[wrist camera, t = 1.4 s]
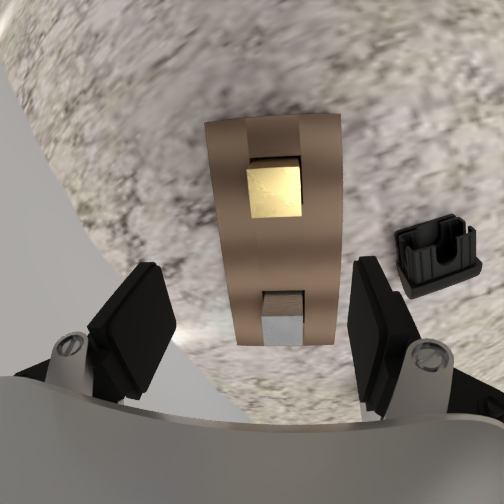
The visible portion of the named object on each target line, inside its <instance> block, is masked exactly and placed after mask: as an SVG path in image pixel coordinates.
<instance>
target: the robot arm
mask: <svg viewBox="0 0 504 504" xmlns="http://www.w3.org/2000/svg"><path fill="white" fill-rule="evenodd" d="M347 327H348V334H349V340H350V345H351V350H352V356H353V362H354V368H355V374H356V380H357V387H358V393H359V400H360V403H365V404H366V411H367V412H368V411H374V412H375V413H376V414H378V415H379V416H381V418H380V420H378V421H367V422H355V423H339V424H319V425H270V424H249V423H234V422H222V421H212V420H205V419H196V418H189V417H182V416H176V415H170V414H164V413H159V412H153V411H148V410H143V409H139V408H134V407H129V406H124V401H123V399H124V397H125V396H126V397H127V398H130V399H135V400H140V397H141V395H142V393H145V392H146V391H147V389H148V387H149V385H150V383H151V381H152V378H153V376H154V374H155V372H156V370H157V368H158V366H159V363H160V361H161V359H162V357H163V355H164V353H165V350H166V349H167V346H168V344H169V342H170V340H171V338H172V336H173V334H174V332H175V330H176V319H175V316H174V313H173V309H172V306H171V303H170V299H169V296H168V292H167V289H166V285H165V281H164V278H163V274H162V270H161V268H160V266H157V265H156V263H155V262H141V263H139V264H138V265H137V267H136V268H135V269H134V270H133V271H132V272H131V273H130V275H129V276H128V277H127V278H126V279H125V280H124V282H123V283H122V284H121V285H120V286H119V288H118V289H117V290H116V291H115V292H114V294H113V295H112V296H111V297H110V298H109V300H108V301H107V302H106V303H105V304H104V306H103V307H102V308H101V310H100V311H99V312H98V313H97V314H96V316H95V317H94V318H93V319H92V321H91V322H90V323H89V325H88V326H87V328H88V330H89V332H90V333H89V334H88V336H86V334H84V333H82V332H72V333H69V334H67V335H65V336H63V337H62V338H60V339H59V340H58V341H57V342H56V344H55V345H54V348H53V351H52V354H51V358H50V359H48V360H46V361H44V362H41V363H39V364H37V365H34V366H32V367H30V368H27V369H25V370H23V371H20V372H17V373H16V374H15V375H14V376H4V377H0V504H504V393H503V392H501V391H500V390H498V389H496V388H494V387H492V386H490V385H488V384H486V383H484V382H482V381H480V380H478V379H476V378H474V377H472V376H470V375H468V374H466V373H464V372H461V371H459V370H458V369H456V368H454V367H453V366H454V357H453V354H452V352H451V350H450V349H449V348H448V347H447V346H446V345H445V344H444V343H442V342H440V341H438V340H435V339H428V338H425V339H421V337H420V334H419V332H418V330H417V327H416V325H415V323H414V321H413V319H412V316H411V314H410V312H409V310H408V308H407V306H406V304H405V302H404V299H403V297H402V295H401V294H400V292H398V291H392V289H391V287H390V285H389V283H388V280H387V278H386V276H385V274H384V272H383V270H382V268H381V266H380V264H379V262H378V260H377V258H376V257H375V256H361V257H359V260H358V261H354V263H353V273H352V285H351V295H350V304H349V313H348V322H347Z"/></svg>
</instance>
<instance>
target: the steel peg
mask: <svg viewBox="0 0 504 504" xmlns="http://www.w3.org/2000/svg"><path fill="white" fill-rule="evenodd" d="M261 319H262V329H263V339H264V346H300V345H302V343H303V303H302V290H287V291H265V295H264V302H263V309H262V315H261Z"/></svg>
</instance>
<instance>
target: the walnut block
mask: <svg viewBox="0 0 504 504" xmlns="http://www.w3.org/2000/svg"><path fill="white" fill-rule="evenodd" d="M204 124H205V132H206V140H207V148H208V156H209V164H210V172H211V179H212V187H213V194H214V201H215V208H216V215H217V222H218V229H219V236H220V243H221V249H222V256H223V262H224V269H225V275H226V281H227V287H228V293H229V299H230V305H231V311H232V317H233V323H234V329H235V335H236V340H237V345H242V346H264V339H263V329H262V319H261V315H262V309H263V302H264V295H265V291H287V290H304V294H302V303H303V343H302V345H300V346H309V345H334V340H335V331H336V321H337V310H338V299H339V285H340V270H341V251H342V222H343V160H342V132H341V114H292V115H274V116H260V117H248V118H238V119H229V120H221V121H213V122H206V123H204ZM294 155H299V157H300V175H301V188H300V190H301V214H302V216H292V217H266V218H251V208H250V198H249V188H248V178H247V168H248V167H249V166H250V164H251V163H252V162H253V160H254V159H256V158H258V157H273V156H294Z"/></svg>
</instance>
